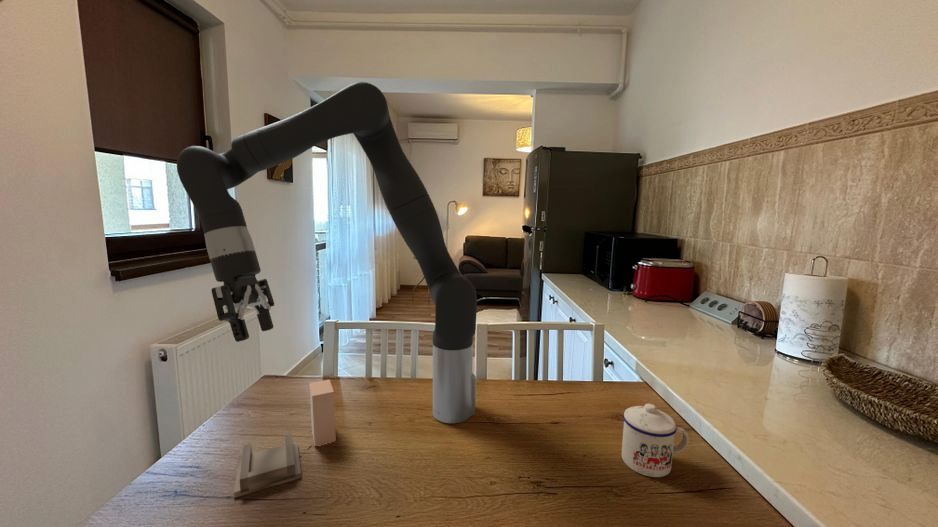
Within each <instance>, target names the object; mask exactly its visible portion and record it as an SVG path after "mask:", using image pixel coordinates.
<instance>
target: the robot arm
mask: <svg viewBox="0 0 938 527" xmlns="http://www.w3.org/2000/svg"><path fill="white" fill-rule="evenodd" d="M389 110H390V109H389V105H388V101H387V99H386V97H385V94H384V93H383V92H382V91H381V90H380V88H378V87H377V86H375V85H374V84H373V83H369V82H366V81H358V82H354V83H351V84H349V85H347V86H345V87H343V88H342V89H341V90H338V91H337V92H335V93H334V94H332V95H331V96H329V97H328V98H326V99H324V100H322V101H320V102H319V103H317V104H314V105H313V106H311V107H308V108H307V109H305V110H303V111H301V112H298V113H296V114H294V115H291V116H289V117H287V118H285V119H281V120H279V121H276V122H273V123H271V124H268V125H265V126H262V127H260V128H257V129H253V130H250V131H249V132H246V133H244V134H241V135H239V136H236V137H235V138H233V139H232V141H231V144H230V149H229V150H227V151H224V152H221V153H217V152H215V151H213V150H212V149H209V148H207V147H204V146H200V145H198V146H197V145H191V146H187V147H186V148H184V149H183V150H181V152H180V153H179V154H178V157H177V161H176V171H177V175H178V178H179V180H180V182H181V185H182V187H183V188H184V190H185V192H186V194H187V195H188V197H189V199H190V201H191V203H192V205H193V206H194V207H195V209H196V211H197V213H198V216H199V220H200V225H201V228H202V231H203V236H204V240H205V246H206V250H207V254H208V258H209V261H210V265H211V268H212V272H213V275H214V278H215V281H217V282H218V283H223V285H220V286H216V287H213V288H211V295H212V299H213V304H214V306H215V312H216V314H217V319H218V321H220V322H222V321H225V322H226V323H229V324H230V328H231V331H232V336H233V338H234V340H235V342H237V343H240V342H243V341H246V340H248V339H249V338H250V334H249V331H248V328H247V324H246V320H245V318H244V315H245V310H246V309H247V308H248V307H250V308H252V309H253V310H254V311H255V312H256V313H257V314H256V316H257V320H258V322H259V323H258V324H259V326H260V330H261V331H262V332H266V331H270V330H273V329H274V324H273V320H272V317H271V313H270V311H271V309H272V307H274V306H275V301H274V298H273V295H272V292H271V288H270V286H269V282H268V280H267V279H266V278H264V279H259V280H258V279H257V277H256V275H258V274H260V273H261V271H262V270H261V266H260V263H259V259H258V256H257V252H256V248H255V244H254V242H253V238H252V236H251V234H250V231H249V230H248V229H249V228H248V226H247V222H246V218H245V215H244V213H243V209H242V206H241V204H240V203H239V202H238V201H237V200H236V199H235V198H234V197H232V196H231V195H230V193H229V191H228V190H230V189H232V188H235V187H237V186H239V185H241V184H242V183H244V182H246V181H247V180H249V179H251V178H252V177H253V176H255V175H256V174H257V173H259V172H262V171H265V170H268V169H271V168H273V167H276V166H278V165H281V164H283V163H286V162H288V161H290V160H293V159H294V158H297V157H298V156H301V155H302V154H303V153H304V152H307V151H308V150H310V149H311V148H313V147H315V146H317V145H319V144H321V143H323V142H326V141H328V140H331V139H334V138H338V137H341V136H345V135H351V134H353V135H354V136H355V138H356V140H357V142H358V144H359V145H360V146H361V148H362V150H363V152H364V153H365V155H366V157H367V159H368V160H369V162H370V165H371V167H372V170H373V172H374V175H375V178H376V181H377V185H378V188H379V191H380V193H381V196H382V199H383V202H384V204H385V206H386V209H387V210H388V213H389V215H390V218H391V219H392V221H393V222H394V225H395V226H396V229H397V230H398V232H399V233H400V236H401V238H402V239H403V241H404V242H405V244H406V246H407V247H408V249H409V250H410V251H411V253H412V255H413V257H415V258H414V259H415V260H416V261H417V263H418V265H419V268H420V269H421V273H422V275H423V278H424V280H425V283H426V286H427V288H428V291H429V294H430V298H431V301H432V302H433V304H434V306H435V310H434V311H435V313H434V330H433V332H432V416H433V417H434V419H436V420H437V421H438V422H441V423H445V424H460V423H463V422H465V421H467V420H469V419H470V418H471V417H472V416H474V415H475V414H476V391H477V390H476V382H477V380H476V378H477V377H476V374H474V373H473V360H474V359H473V356H474V354H473V352H474V351H473V350H474V336H475V333H476V327H477V310H478V308H477V307H478V304H477V303H478V298H477V290H476V288H475V286H474V285H473V283H472V282H471V281H470V280H469V279H468V278H466V277H465V276H463V274H462V273H461V272H460V270H459V269H458V267H457V266H456V264H455V262H454V261H453V260H454V259H453V258H452V256H451V255H450V252H449V251H448V248H447V245H446V243H445V238H444V232H443V230H442V225H441V222H440V219H439V215H438V212H437V210H436V207H435V206H434V203H433V200H432V199H431V196H430V195H429V193H428V190H427V188H426V187H425V184H424V183H423V181H422V179H421V178H420V175H419V174H418V173H417V170H415V168H414V167H413V165H412V164H411V161H409V159H408V158H407V156H406V154H405V153H404V150H403V149H402V146H401V144H400V142H399V138H398V137H397V133H396V130H395V128H394V125H393V122H392V120H391V115H390V111H389ZM225 310H226V312H225Z"/></svg>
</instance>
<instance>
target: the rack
mask: <svg viewBox="0 0 938 527" xmlns="http://www.w3.org/2000/svg"><path fill="white" fill-rule="evenodd" d="M284 438H285V444H282V445H278V446H275V447H272V448H271V447H270V448H267V449H263V450H259V451H255V452H253V451H252V450H253V449H252V443H248V444H244V445H243V448H242V455H240V456H239V455H238V461H237V467H236V469H237V470H236V476H235V482H234V483H235V484H234V490H233V494H234V495H233V496H234V498H238V497H239V498H240V497H241V496H247V495H249V494H252V493H256V492H259V491H262V490H265V489H269V488H271V487H272V488H273V487H275V486H280V485H282V484H285V483H286V484H287V483H289V482H292V481H297V480H299V479H302V472H301V463H300V461H301V460H300V453H299V443H298V441H294V440H293V433H289V434H285V436H284Z"/></svg>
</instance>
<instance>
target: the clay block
mask: <svg viewBox="0 0 938 527" xmlns="http://www.w3.org/2000/svg"><path fill="white" fill-rule="evenodd" d="M334 393H335V391H334V388H333V385H332V383H331V379H325V380H320V381H319V380H318V381H315V382H309V399H310V400H309V401H310V416H311V417H310V418H311V432H312V433H311V434H313V435H312V439H313V446H314V445H315V446H318V445H323V444H325V443H329V442H334V441H336V439H337V438H336V436H337V435H336V417H335V416H336V414H335V413H336V412H335V411H336V410H335V394H334ZM336 442H337V441H336ZM334 443H335V442H334ZM315 446H314V447H315ZM323 446H324V445H323Z"/></svg>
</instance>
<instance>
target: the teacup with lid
mask: <svg viewBox="0 0 938 527" xmlns="http://www.w3.org/2000/svg"><path fill="white" fill-rule="evenodd" d="M622 418H623V430H622V444H621V458H622V461H623V462H624V463H625V465H626V466H627V467H628V468H629V469H631V470H633V471H634V472H636V473H637V474H640V475H643V476H647V477H652V478H662V477H665V476H667V475H669V474H670V473H671V470H672V463H673V456H674V455H673V454H678V453H682V452H683V451H684V450H685V449H686V448H687V446H688V444H689V441H690V436H689V434H688V433H687V431H686V430H685V429H684V428H683V427H682V428H681V427H677V425H676V422H675V420H674V419H673V418H672V416H670V415H669V414H667V413H665V412H664V411H662V410H660V409H658V408H657V406H655V405H654V404H652V403H645V404H644V405H635V406H631V407H630V406H629V407H628V408H626V409H625V411H624V412H623V415H622ZM675 434H681V435H682V440H681V442H680V443H679V444H677V445H676V446H674V443H675Z"/></svg>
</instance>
